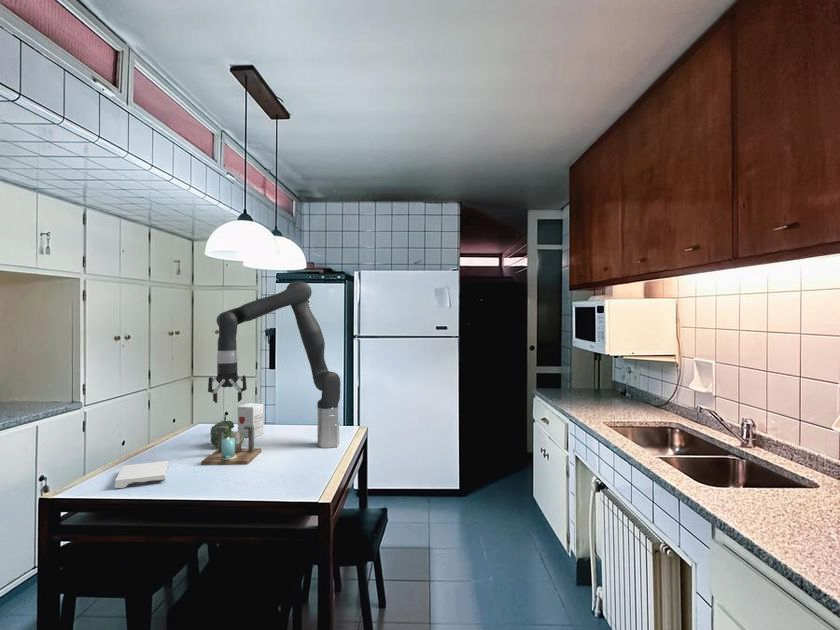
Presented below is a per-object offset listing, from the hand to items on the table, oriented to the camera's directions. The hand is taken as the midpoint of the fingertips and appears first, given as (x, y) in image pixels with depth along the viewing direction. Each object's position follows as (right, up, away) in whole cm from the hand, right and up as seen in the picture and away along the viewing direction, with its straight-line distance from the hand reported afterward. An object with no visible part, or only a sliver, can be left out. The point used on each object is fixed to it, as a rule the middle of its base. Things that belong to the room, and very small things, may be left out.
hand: (227, 402), depth 196 cm
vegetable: (-10, -24, +24) cm, 36 cm away
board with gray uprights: (0, -24, +5) cm, 24 cm away
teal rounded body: (0, -22, 0) cm, 22 cm away
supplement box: (-6, -24, +43) cm, 50 cm away
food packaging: (-23, -25, -19) cm, 39 cm away
